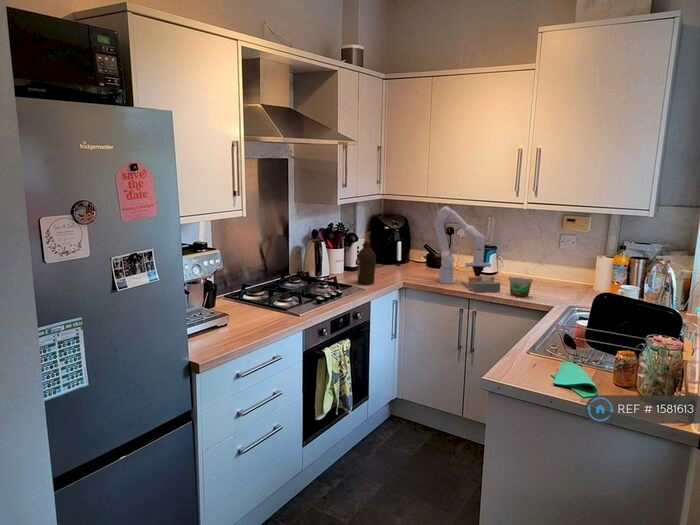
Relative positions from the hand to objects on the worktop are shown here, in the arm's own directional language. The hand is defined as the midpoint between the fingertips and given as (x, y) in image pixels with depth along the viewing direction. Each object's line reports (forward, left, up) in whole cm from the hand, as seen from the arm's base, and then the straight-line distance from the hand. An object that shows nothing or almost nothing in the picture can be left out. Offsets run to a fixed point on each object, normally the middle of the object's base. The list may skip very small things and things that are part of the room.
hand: (476, 279), depth 295 cm
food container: (+25, +14, -4) cm, 29 cm away
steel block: (+11, 0, -3) cm, 12 cm away
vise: (+7, 0, -3) cm, 8 cm away
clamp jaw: (+7, 0, -3) cm, 8 cm away
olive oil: (-6, -64, -4) cm, 64 cm away
